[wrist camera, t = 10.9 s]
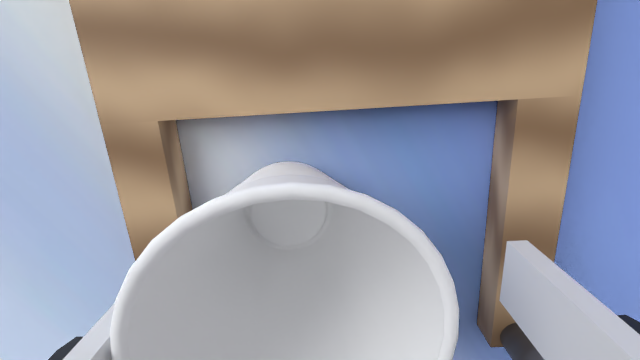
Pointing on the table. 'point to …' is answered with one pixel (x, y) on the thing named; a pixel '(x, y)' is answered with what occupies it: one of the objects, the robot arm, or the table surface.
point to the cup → (288, 279)
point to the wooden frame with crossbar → (344, 94)
